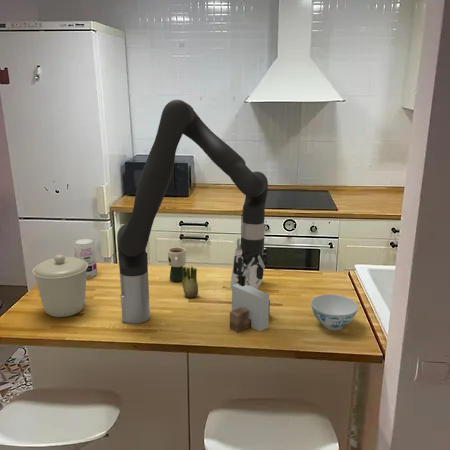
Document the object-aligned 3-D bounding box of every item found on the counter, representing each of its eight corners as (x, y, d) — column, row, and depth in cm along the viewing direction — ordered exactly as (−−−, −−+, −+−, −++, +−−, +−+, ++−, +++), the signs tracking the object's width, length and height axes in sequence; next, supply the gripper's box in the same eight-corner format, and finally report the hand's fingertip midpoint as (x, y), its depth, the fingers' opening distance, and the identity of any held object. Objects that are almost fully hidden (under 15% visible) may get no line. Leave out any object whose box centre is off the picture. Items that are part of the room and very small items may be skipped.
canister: (69, 327, 154) (63, 268, 148) (26, 317, 160) (18, 260, 154) (101, 303, 170) (97, 249, 164) (61, 295, 176) (55, 243, 170)
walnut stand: (237, 332, 151) (237, 315, 150) (229, 328, 154) (229, 312, 152) (269, 316, 162) (270, 300, 160) (261, 312, 164) (262, 297, 163)
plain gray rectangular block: (260, 331, 152) (261, 298, 149) (231, 317, 161) (232, 285, 157) (268, 327, 155) (269, 294, 151) (239, 313, 164) (240, 282, 160)
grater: (255, 291, 181) (256, 243, 175) (229, 288, 184) (230, 240, 178) (262, 281, 190) (263, 234, 184) (237, 277, 193) (238, 232, 187)
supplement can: (88, 269, 200) (85, 236, 196) (101, 274, 196) (98, 240, 191) (72, 275, 194) (69, 241, 190) (85, 280, 189) (82, 246, 185)
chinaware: (354, 317, 162) (356, 296, 160) (356, 339, 148) (358, 317, 146) (311, 312, 165) (312, 292, 163) (308, 333, 151) (310, 312, 149)
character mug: (169, 274, 196) (168, 245, 192) (186, 274, 197) (185, 245, 193) (167, 285, 186) (166, 254, 182) (185, 285, 186) (185, 254, 182)
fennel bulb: (181, 295, 177) (180, 265, 174) (191, 291, 180) (191, 262, 177) (190, 300, 173) (189, 270, 170) (200, 296, 176) (200, 267, 173)
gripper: (245, 242, 141) (243, 291, 146) (276, 233, 151) (273, 279, 155) (228, 236, 146) (227, 284, 151) (258, 228, 156) (256, 273, 160)
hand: (250, 282), depth 153 cm, fingers open, 8 cm apart
